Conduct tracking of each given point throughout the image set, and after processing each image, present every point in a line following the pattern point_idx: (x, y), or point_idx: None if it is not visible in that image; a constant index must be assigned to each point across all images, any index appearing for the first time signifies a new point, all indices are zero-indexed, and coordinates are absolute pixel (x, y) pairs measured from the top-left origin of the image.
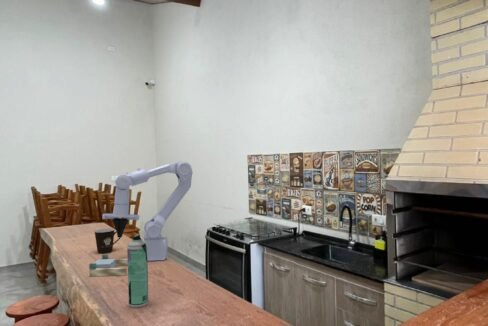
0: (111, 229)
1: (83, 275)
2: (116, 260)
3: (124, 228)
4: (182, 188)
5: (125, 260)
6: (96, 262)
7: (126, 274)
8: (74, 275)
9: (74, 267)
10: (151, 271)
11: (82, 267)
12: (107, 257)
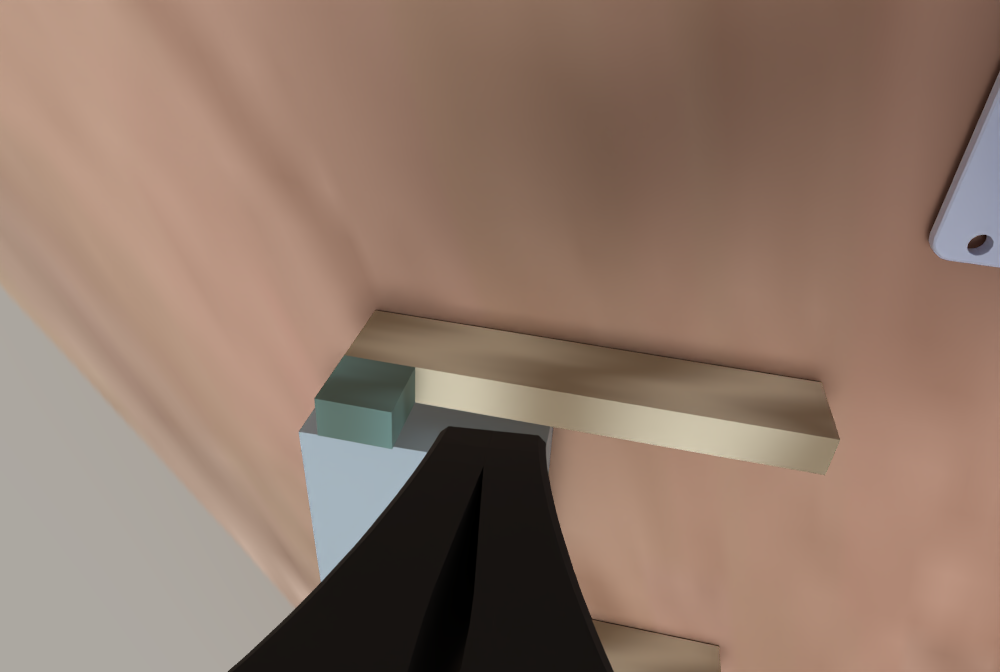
0: None
1: (312, 551)
2: (545, 419)
3: (596, 643)
4: None
5: (675, 439)
6: (343, 538)
7: (717, 650)
8: (230, 528)
9: (58, 288)
10: (991, 651)
11: (151, 312)
12: (404, 416)
